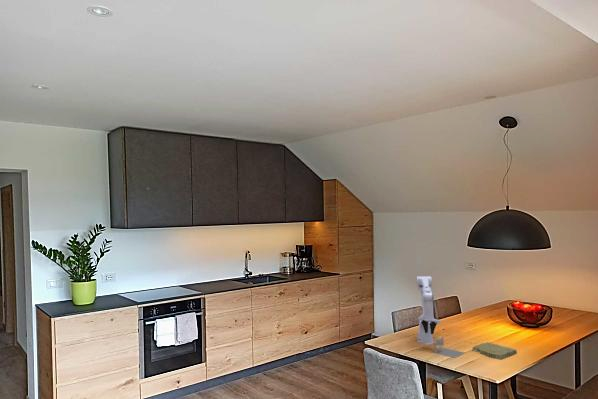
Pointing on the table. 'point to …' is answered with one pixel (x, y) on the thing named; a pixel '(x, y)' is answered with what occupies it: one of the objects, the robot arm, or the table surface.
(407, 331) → the table surface
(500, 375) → the table surface
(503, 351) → the decorative tile
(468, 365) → the table surface
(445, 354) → the mat
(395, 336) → the table surface
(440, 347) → the slab
